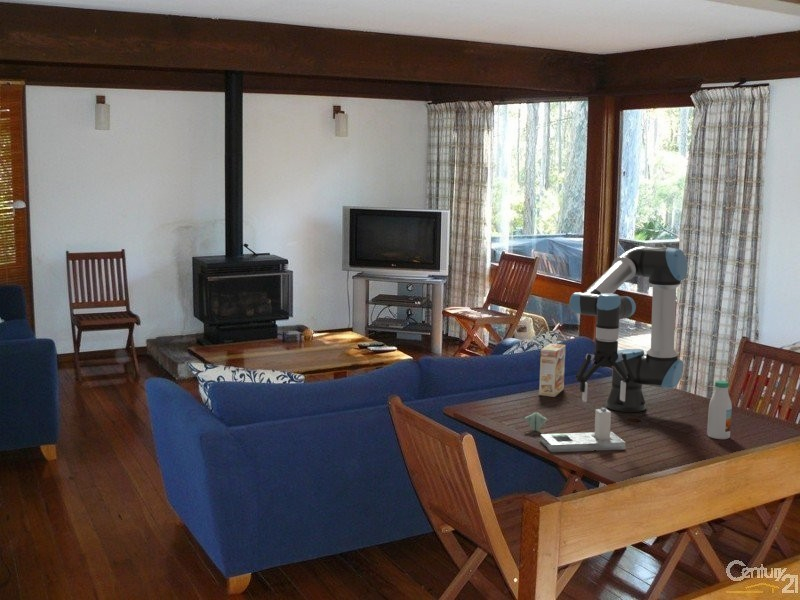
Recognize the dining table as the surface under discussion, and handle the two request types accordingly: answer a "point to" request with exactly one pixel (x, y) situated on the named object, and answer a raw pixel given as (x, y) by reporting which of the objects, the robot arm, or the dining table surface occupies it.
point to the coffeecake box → (552, 370)
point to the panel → (580, 442)
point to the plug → (602, 424)
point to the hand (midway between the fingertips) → (603, 400)
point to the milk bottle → (720, 412)
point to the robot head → (535, 420)
